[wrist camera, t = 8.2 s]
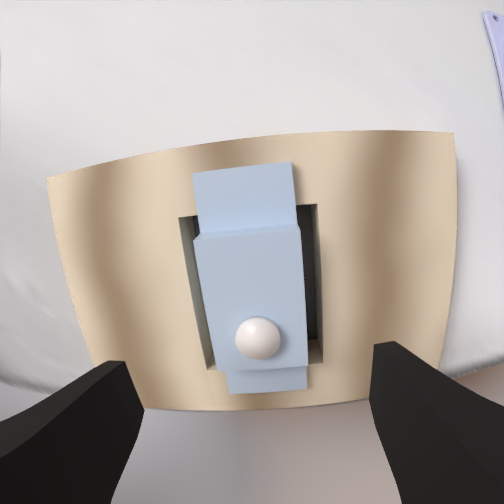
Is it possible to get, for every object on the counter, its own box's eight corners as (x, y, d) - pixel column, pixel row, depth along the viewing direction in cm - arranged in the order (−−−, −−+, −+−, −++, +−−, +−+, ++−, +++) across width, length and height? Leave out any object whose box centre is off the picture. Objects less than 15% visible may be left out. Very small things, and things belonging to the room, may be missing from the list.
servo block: (286, 161, 15) (294, 160, 10) (302, 355, 18) (310, 412, 13) (206, 171, 16) (179, 175, 11) (235, 360, 19) (225, 417, 14)
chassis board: (430, 135, 14) (453, 132, 12) (420, 361, 18) (434, 384, 16) (72, 174, 16) (46, 178, 13) (124, 381, 20) (110, 404, 17)
